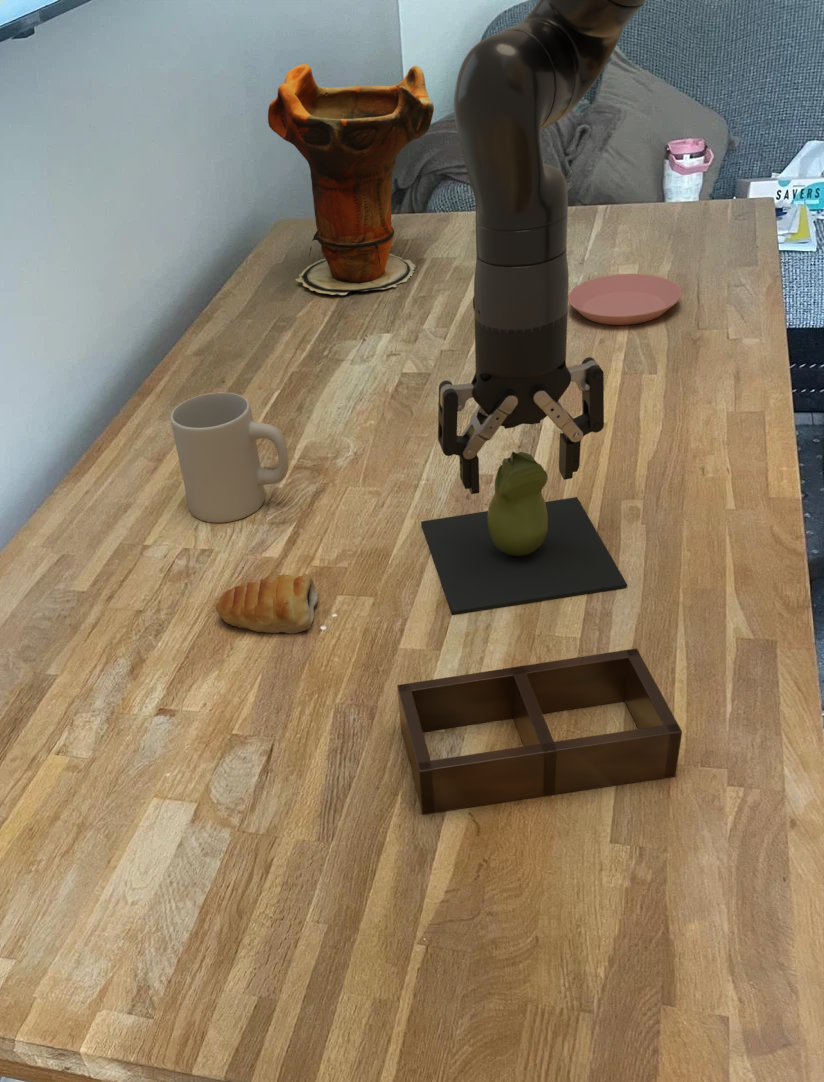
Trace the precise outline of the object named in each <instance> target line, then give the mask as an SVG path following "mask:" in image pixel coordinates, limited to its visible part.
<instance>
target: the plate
mask: <svg viewBox="0 0 824 1082" xmlns="http://www.w3.org/2000/svg"><path fill="white" fill-rule="evenodd" d="M682 296H683V291H682V289H681V286H679V285H678V284H677V283H676V282H675V281H673V280H670V279H669V278H666V277H662V276H658V275H653V274H646V273H618V274H611V275H603V276H599V277H595V278H592V279H589V280H586V281H583V282H581V283H580V284H578V285H576V286H575V287H574V288H573V289H571V290H570V291H569V292H568V304H570V306H571V307H573V308H574V309H575V310H576V311H577V312H578V313H579V314H580V315H582V316H583V317H584V318H585V319H587V320H589V321H591V322H594V323H598V324H602V325H607V326H609V325H610V326H611V325H612V326H629V325H637V324H642V323H646V322H649V321H652V320H655V319H657V318H659V317H660V316H662V315H663V314H665V313H666V312H667V311H668V310H669V309H671V308H672V307H673V306H674V305H676V304H677V303H678V302H679V301H680V300H681V298H682Z"/></svg>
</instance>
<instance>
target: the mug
mask: <svg viewBox="0 0 824 1082" xmlns="http://www.w3.org/2000/svg"><path fill="white" fill-rule="evenodd" d="M170 425H171V429H172V434H173V438H174V443H175V447H176V453H177V456H178V457H177V458H178V462H179V467H180V470H181V476H182V481H183V486H184V490H185V497H186V503H187V506H188V510H189V511H190V514H191V515H192V516H193V517H195V518H196V519H197V520H200V521H203V522H207V523H216V524H219V523H220V524H222V523H223V524H224V523H229V522H230V523H231V522H235V521H238V520H242V519H244V518H247V517H249V516H251V515H252V514H254V513H255V512H257V511H258V510H259V509H260V508H261V507H262V506H263V505H264V503H265V499H266V491H265V485H275V484H279V483H281V482H282V481H283V480H284V479H285V478H286V476H287V474H288V472H289V471H288V469H289V451H288V447H287V443H286V440H285V438H284V435H283V433H282V432H281V430H280V429H279V428H278V427H277V426H275V425H272V424H269V423H265V422H257V421H254V417H253V413H252V408H251V404H250V402H249V400H248V398H246V397H245V396H243V395H241V394H238V393H233V392H225V391H223V392H220V391H219V392H211V393H204V394H200V395H197V396H194V397H191V398H188V399H186V400H184V401H183V402H181V403H179V404H178V405H176V407H174V408H173V410H172V412H171V414H170ZM260 439H267V440H269V441H271V442H272V443H273V445H274V446H275V449H276V452H277V457H278V464H277V467H276V468H274V469H267V468H264V467H262V466H261V460H260V455H259V450H258V443H257V440H260Z"/></svg>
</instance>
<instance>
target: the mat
mask: <svg viewBox="0 0 824 1082" xmlns="http://www.w3.org/2000/svg"><path fill="white" fill-rule="evenodd" d="M545 504H546V508H547V515H548V531H547V535H546V538H545V540H544V542H543V544H542V545H541V546H540V547H539V548H538V549H537V550H535V551H534V552H532V553H530V554H528V555H524V556H511V555H507V554H505V553H503V552H501V551H500V550H499V549H498V548H497V547H496V546H495V544H494V543H493V541H492V539H491V536H490V533H489V529H488V520H487V517H488V510H485V511H479V512H471V513H467V514H461V515H460V514H459V515H454V516H447V517H440V518H435V519H429V520H423V521H420V525H421V529H422V531H423V534H424V538H425V540H426V543H427V545H428V548H429V551H430V554H431V557H432V560H433V563H434V567H435V569H436V572H437V575H438V579H439V581H440V584H441V587H442V589H443V593H444V595H445V598H446V601H447V604H448V607H449V609H450V613H451V615H459V614H465V613H470V612H471V613H472V612H479V611H485V610H491V609H497V608H503V607H504V608H505V607H510V606H511V607H512V606H515V605H516V606H517V605H522V604H523V605H524V604H529V603H531V604H532V603H537V602H543V601H549V600H556V599H562V598H568V597H575V596H582V595H588V594H593V593H600V592H607V591H613V590H621V589H626V588H628V582H626V580H625V578H624V577H623V575H622V573H621V571H620V570H619V568H618V566H617V564H616V562H615V560H614V559H613V557H612V555H611V554H610V551H609V550H608V548H607V546H606V545H605V543H604V541H603V540H602V538H601V536H600V534H599V533H598V531H597V529H596V528H595V526H594V524H593V523H592V520H591V519H590V517H589V515H588V513H587V512H586V510H585V507H583V505H582V503H581V501H580V500H579V498H578V497H577V496H574V497H568V498H567V497H566V498H561V499H555V500H549V501H545Z"/></svg>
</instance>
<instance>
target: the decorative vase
mask: <svg viewBox="0 0 824 1082" xmlns="http://www.w3.org/2000/svg"><path fill="white" fill-rule="evenodd" d="M429 96H430V95H429V93H428V91H427V88H426V80H425V75H424V70H423V69H422V68H421V67H420V66H418V65H413V66H411V68H409V70H408V72H407V73H406V75H405V77H404V78H403V79H402V80H400V81H399V82H398V83H397V84H394V85H388V86H387V85H349V86H338V87H337V86H336V87H326V86H325V87H324V86H321V85H319V84H318V83H317V82H316V81H315V78H314V76H313V69H312V67H311V65H309V64H307V63H302V64H299V65H297V66H294V67H293V68H291V69H290V70H289V71H288V72H287V73H286V75H285V78H284V82H283V83H281V84H280V85H279V87H278V88H277V96H276V98H275V99H273V100H272V101H271V102H270V103H269V105H268V109H267V124H268V127H269V128H270V129H271V131H273V132H274V133H275V134H277V135H278V136H279V137H280V138H282V139H283V140H284V141H286V142H287V143H290V144H292V145H293V146H294V147H295V148H296V150H298V152H299V153H300V154H301V156H302V157H304V159H305V160H306V162H307V163H308V166H309V167H308V168H309V170H310V181H311V193H312V199H313V210H314V218H315V219H314V220H315V227H316V231H315V234H313V238H312V240H311V241H312V242H313V241H317V242H318V243H319V244H320V246H321V247H320V249H321V254H322V256H323V257H324V258H322V259H318V260H317V261H315V262H314V263H312V264H310V265H307V266H305V267H304V270H302V273H300V274H298V276H299V277H298V278H296V279H294V280H295V281H296V282H299V283H301V284H302V287H304V288H308V289H309V291H312V292H313V291H315V292H316V293H320V294H328V295H332V296H333V295H339V296H346V295H347V294H348V293H351V292H354V291H357V292H367V291H373V290H386V289H390V288H396V287H398V285H399V284H402V283H407V281H408V279H409V278H411V277H410V276H412V277H413V273H415V271H414V270H416V267H417V265H416V264H415V263H413V261H411V259H404V258H402V257H400V256H396V255H395V254H393V253H390V251H391V248H392V243H393V240H394V236H395V229H394V227H393V226H392V186H393V185H392V184H393V173H394V170H395V167H396V159H397V156H398V155H399V153H400V152H401V151H402V150H403V149H404V148H405V147H406V146H407V145H408V144H410V143H411V142H412V141H414V140H417V139H420V138H421V137H422V136H424V135H425V134H427V132H428V130H429V129H430V127H431V123H432V120H433V116H434V111H435V107H434V104H433V103H434V102H433V101H432V100H431V98H430V97H429ZM312 248H313V247H312V246H310V248H309V254H308V257H310V256H311V251H312Z"/></svg>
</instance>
